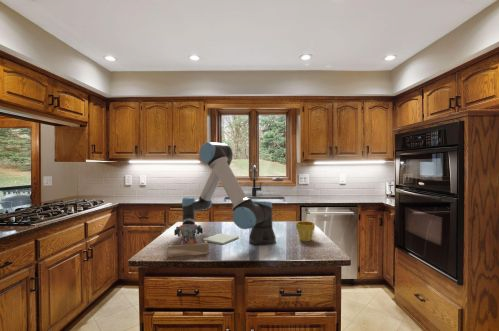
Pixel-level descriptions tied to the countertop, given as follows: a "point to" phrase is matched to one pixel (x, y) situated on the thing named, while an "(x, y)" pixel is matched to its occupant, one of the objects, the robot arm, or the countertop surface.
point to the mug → (188, 234)
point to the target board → (221, 239)
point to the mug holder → (188, 249)
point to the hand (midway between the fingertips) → (188, 235)
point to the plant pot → (305, 230)
